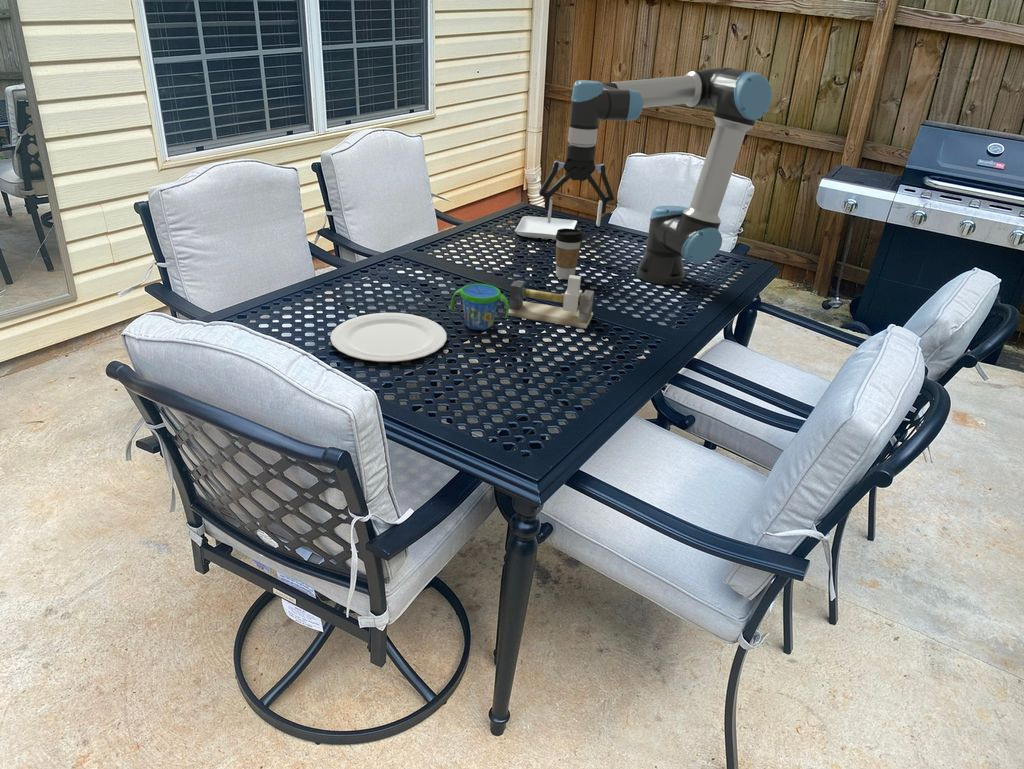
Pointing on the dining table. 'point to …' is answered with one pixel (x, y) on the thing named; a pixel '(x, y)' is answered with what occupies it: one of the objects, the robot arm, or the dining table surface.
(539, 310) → the lead screw slide rig
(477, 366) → the dining table surface
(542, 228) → the salad plate
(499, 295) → the snack cup
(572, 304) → the sleeve
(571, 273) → the coffee cup
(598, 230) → the dining table surface
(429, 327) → the plate
